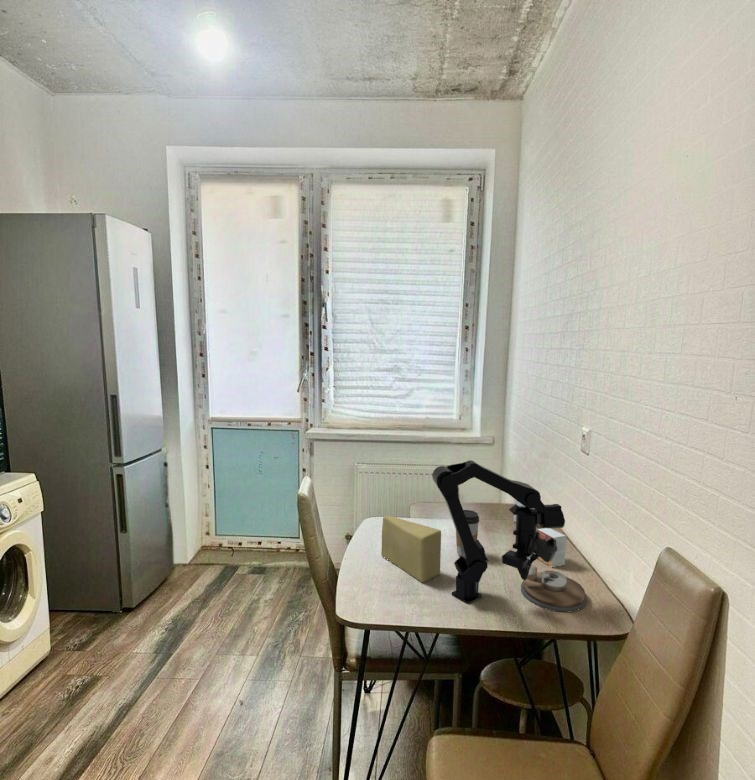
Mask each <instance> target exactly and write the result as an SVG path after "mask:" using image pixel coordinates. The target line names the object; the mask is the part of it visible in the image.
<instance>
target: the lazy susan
mask: <svg viewBox="0 0 755 780" xmlns="http://www.w3.org/2000/svg"><path fill="white" fill-rule="evenodd" d="M542 572H543V571H538V567H537V566H535V565H533V564H532V565H531V568H530V571H529V574H528V576H527V579H526V580H523V579H522V582H523V589H524V591H525V592H526V593H527V594H528V595H529V596H530V597H532V598H533V599H535V600H537V601H539V602H541V603H544V604H547V605H551V606H557V607H574V606H578V605H580V604H581V603H583V601H584V599H585V595H586V590H585V589H584V587H583V586H582V585H581V584H580V583H579V582H577V581H576V580H574V579H573V578H571V577H568V576H566V578H567V580H566V590H565V591H564V592H551V591H548V590H546V589H544V588H543V587H542V586H541V573H542Z"/></svg>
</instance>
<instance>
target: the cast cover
mask: <svg viewBox="0 0 755 780" xmlns="http://www.w3.org/2000/svg"><path fill="white" fill-rule="evenodd" d="M541 572H542V573H541V586H542V587H543V588H544V589H546V590H548V591H551V592H564V591H565V590H566V580H567V578H566V577H567V576H565V575H564V574H563V573H561V572H558V571H556V570H544V571H541Z"/></svg>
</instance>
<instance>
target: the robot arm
mask: <svg viewBox="0 0 755 780" xmlns="http://www.w3.org/2000/svg"><path fill="white" fill-rule="evenodd" d="M431 476H432V481H433V482H434V484H435V485H436V487H437V489H438V490H439V492H440V493H441V496H442V497H443V498H444V500H445V503H446V504H445V505H446V506H447V509H448V512H449V514H450V517H451V520H452V522H453V525H454V527H455V532H456V531H457V534H458V536H459V539H460V547H461V554H462V556H458V558H457V559H456V560H455V561H454V562H453V563H454V566H455V567H454V568H456V571H457V575H456V577H455V590H454V591H452V592H451V595H452V596H454V597H455V598H457V599H459V600H461V601H463V602H464V603H465V604H470V603H473V602H475V601H476V600H478V599H481V598H482V597H483V595H482V594H481V593H480V592H479V583H480V582H481V580H482V576H483V574H484V573H485V572H486V571H487V569H488V562H489V558H488V557H487V556H486V550H485V548H484V546H483V545H482V543H481V542H480V540H479V539H477V540H476V541H474V538H473V536H472V533H471V530H470V527H469V525H468V522H467V519H466V517H465V514H464V511H463V510H464V508H463V506H462V503H461V501H460V498H459V496H460V495H459V485H460V486H461V485H462V484H464V483H466V482H468V481H469V480H471V479H473V478H475V479H478V480H479V481H481V482H482V483H486V484H487V485H489V486H491V487H494V488H495V489H498V490H499V491H502V492H504V493H506V494H508V495H509V496H511V498H513V499H516V500H517V501H518V502H520V503H521V504H522V505H524V506H525V507H519V506H518V505H517V504H515V505H514V504H513V506H511V507H510V508H509V509H508V510H509V512H511V514H512V515H513V516H514V515H516V523H515V529H514V530H512V535H514V536H515V543H513V544H512V549H514V550H511V549H510V550H508V551H507V552H505V553H504V554H502V555H501V564H503V565H506V566H509V567H512V568H515V569H517V571H518V573H519V575H520V578H521V580H522V581H523V580H526V579H527V576H528V574H529V571H530V568H531V565H533V563H534V562H535V561H536V560H538V559H537V558H538V557H540V558H542V559H543V560H544V561H545V562H549V561H550V560H551V559H553V557H554V555H555V553H556V552H557V548H558V547H557V546H556V540H555V539H553V538H550V539H549V540H547V541H546V539H541V538H540V533H539V532H538V531H537V525H539V527H540V529H543V528H551V529H562V528H564V527H565V523H566V520H565V515H564V513H563V510H562V505H560V504H559V503H554V504H544V503H543V502H542V499H541V497H542V496H541V493H540V491H538V490H537V489H536V488H534V487H533V486H531V485H530V484H529V483H526V482H523V481H519V480H512V479H509V478H507V477H506V476H503V475H502V474H499V473H497V472H494V471H493V470H491V469H489V468H486V467H485V466H484V465H481V464H478V463H477V462H476V461H474V460H470V459H469V460H466V461H464V462H463V461H462V462H460V463H455V464H454V463H453V464H450V465H447V466H445V465H440V466H437V467H436V468H435V469H434V470H433V472H432V475H431ZM532 508H535V509H532ZM515 550H516V551H515Z"/></svg>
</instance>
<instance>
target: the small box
mask: <svg viewBox="0 0 755 780" xmlns="http://www.w3.org/2000/svg"><path fill="white" fill-rule="evenodd" d="M536 531H538V532H539V533H540V538H541V539H546V541H547V540H549V539H550V538H553V539H555V540H556V546H557V547H558V548H557V552H556V553H555V555H554V557H553V559H551V560H550V561H549V562H545V561H544V560H543V559H542V558H540V557H538V559H537V560H539V561H541V562H542V561H543V562H542V563H544V562H545V563H546V564H545V563H544V564H545V565H547V564H548V565H550V566H552V567H554V566H559V567H561V566H560V565H564V566H565V565H566V564H565V562H566V547H567V546H566V545H567V544H566V543H567V535H565V534H563V533H561V532H559V531H557V530H555V529H554V528H538V529H537V530H536ZM548 565H547V566H548ZM550 566H549V567H550ZM554 568H555V567H554Z"/></svg>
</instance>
